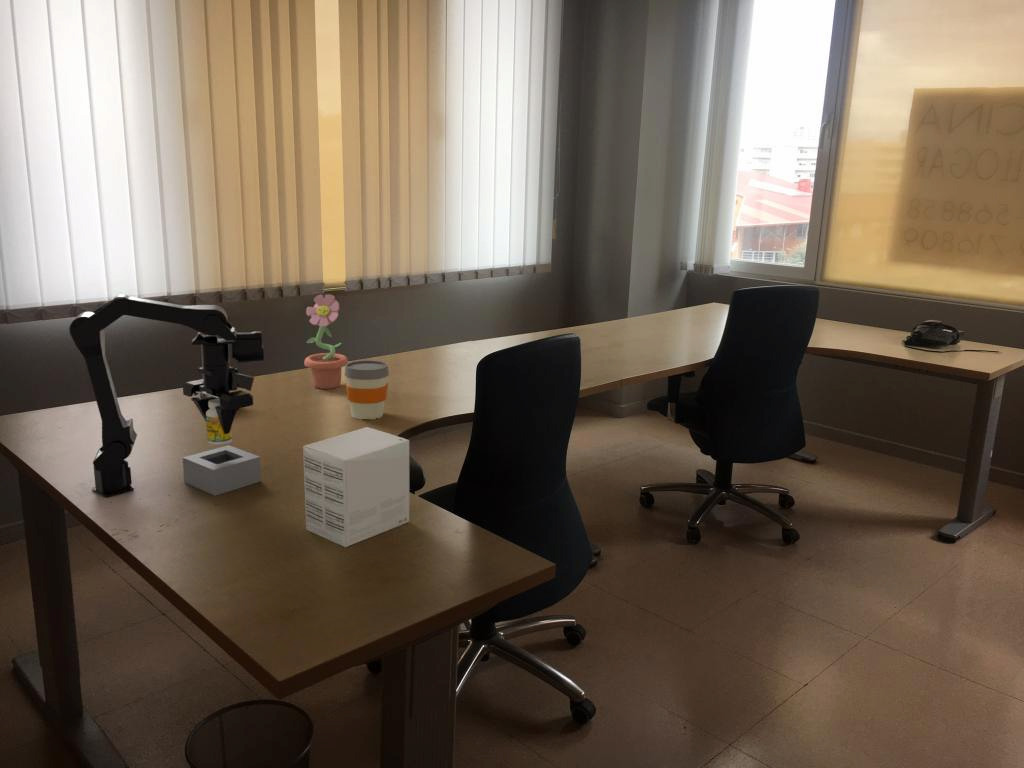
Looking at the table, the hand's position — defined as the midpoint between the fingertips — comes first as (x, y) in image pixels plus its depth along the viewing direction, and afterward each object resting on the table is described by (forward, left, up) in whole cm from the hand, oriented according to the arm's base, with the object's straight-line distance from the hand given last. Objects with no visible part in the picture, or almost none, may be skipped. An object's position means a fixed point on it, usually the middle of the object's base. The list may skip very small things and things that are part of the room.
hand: (219, 430), depth 197 cm
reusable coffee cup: (+59, +16, -12) cm, 63 cm away
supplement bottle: (0, 0, -3) cm, 3 cm away
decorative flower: (+72, +50, -12) cm, 89 cm away
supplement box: (+4, -41, -13) cm, 43 cm away
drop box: (0, 0, -12) cm, 12 cm away
